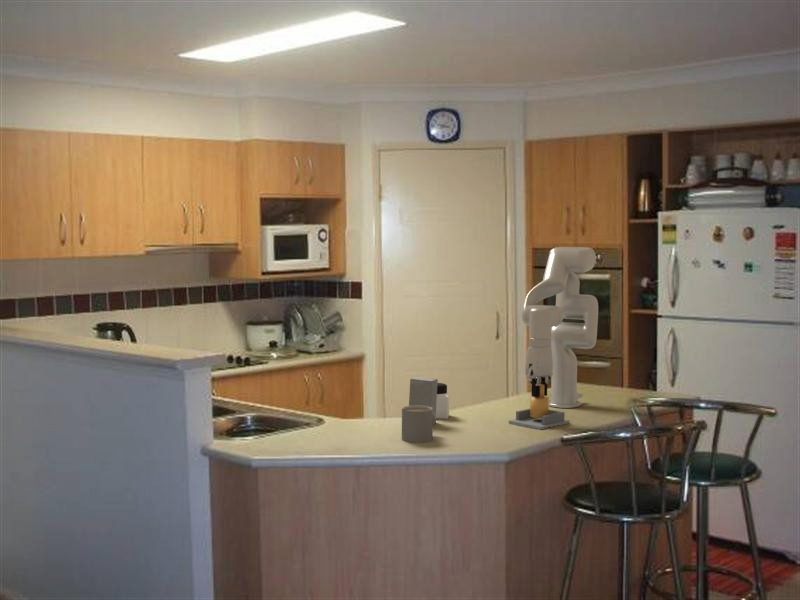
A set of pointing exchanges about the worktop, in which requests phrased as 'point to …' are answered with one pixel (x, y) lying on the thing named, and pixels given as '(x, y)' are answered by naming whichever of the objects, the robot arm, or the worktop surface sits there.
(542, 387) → the amber bottle
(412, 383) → the skincare box
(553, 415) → the u rest
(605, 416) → the worktop surface
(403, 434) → the coffee mug
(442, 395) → the medicine bottle
